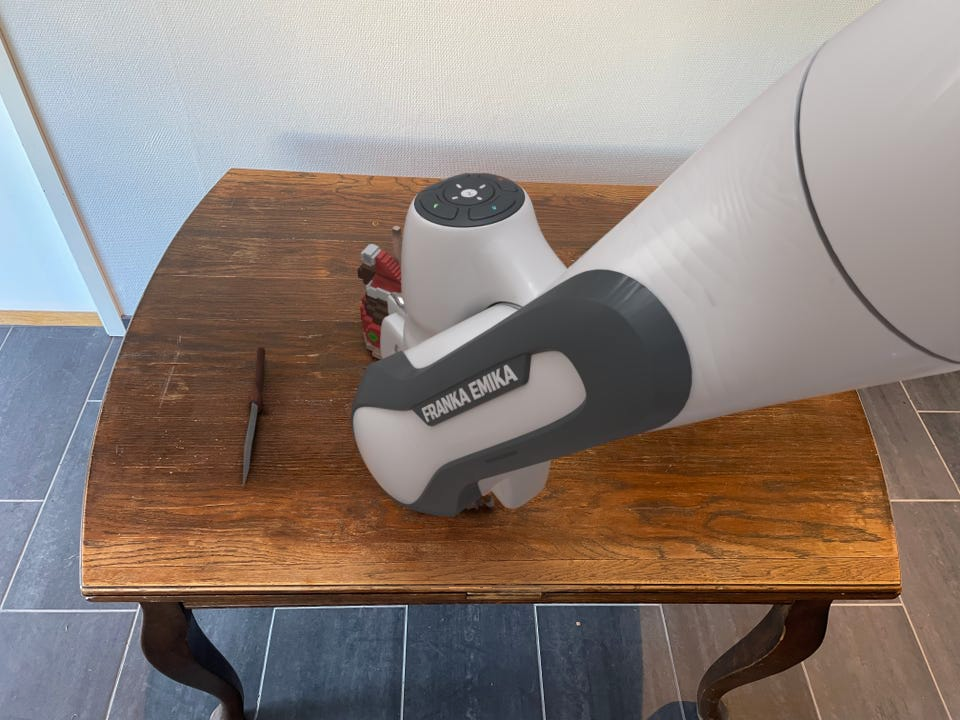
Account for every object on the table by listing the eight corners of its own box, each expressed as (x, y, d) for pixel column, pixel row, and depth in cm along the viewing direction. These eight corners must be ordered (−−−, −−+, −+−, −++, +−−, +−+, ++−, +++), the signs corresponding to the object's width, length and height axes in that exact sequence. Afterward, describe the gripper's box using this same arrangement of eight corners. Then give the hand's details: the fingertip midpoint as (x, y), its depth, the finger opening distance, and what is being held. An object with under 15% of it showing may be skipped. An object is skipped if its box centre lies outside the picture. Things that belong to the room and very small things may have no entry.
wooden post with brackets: (502, 512, 72) (487, 491, 69) (433, 520, 75) (415, 500, 71) (503, 497, 73) (488, 475, 70) (435, 505, 76) (417, 485, 73)
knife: (252, 491, 73) (247, 477, 71) (237, 492, 73) (231, 478, 71) (271, 358, 85) (267, 342, 83) (258, 359, 85) (254, 342, 82)
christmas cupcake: (455, 331, 89) (460, 220, 76) (419, 380, 84) (417, 270, 70) (385, 301, 92) (378, 189, 78) (345, 346, 87) (329, 235, 73)
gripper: (357, 295, 58) (368, 394, 69) (508, 466, 49) (493, 550, 59) (419, 267, 61) (420, 366, 72) (574, 424, 51) (549, 512, 62)
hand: (454, 451), depth 65 cm, fingers open, 8 cm apart
